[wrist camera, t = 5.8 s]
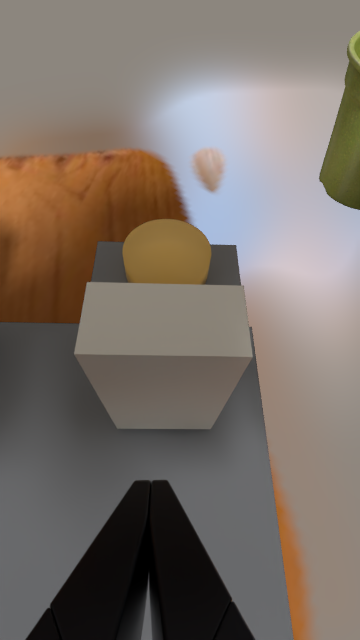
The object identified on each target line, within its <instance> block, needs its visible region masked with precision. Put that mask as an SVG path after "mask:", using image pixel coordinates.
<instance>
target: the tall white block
mask: <svg viewBox="0 0 360 640" xmlns="http://www.w3.org/2000/svg"><path fill="white" fill-rule="evenodd" d="M74 355H75V357H76V358H77V360H78V362H79V364H80V365H81V367H82V369H83V371H84V372H85V374H86V376H87V377H88V379H89V381H90V383H91V384H92V386H93V388H94V389H95V391H96V393H97V395H98V396H99V398H100V400H101V402H102V403H103V405H104V407H105V408H106V410H107V412H108V414H109V415H110V417H111V419H112V421H113V422H114V424H115V426H116V427H117V429H211V428H212V426H213V425H214V423H215V421H216V419H217V418H218V416H219V414H220V412H221V411H222V409H223V407H224V406H225V404H226V402H227V400H228V399H229V397H230V395H231V394H232V392H233V390H234V388H235V387H236V385H237V383H238V381H239V380H240V378H241V376H242V375H243V373H244V371H245V369H246V368H247V366H248V364H249V363H250V361H251V359H252V357H253V355H252V347H251V339H250V331H249V324H248V316H247V308H246V300H245V294H244V286H237V285H195V284H152V283H110V282H87V285H86V291H85V296H84V302H83V307H82V313H81V318H80V324H79V329H78V335H77V340H76V346H75V351H74Z"/></svg>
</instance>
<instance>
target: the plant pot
mask: <svg viewBox="0 0 360 640" xmlns="http://www.w3.org/2000/svg"><path fill="white" fill-rule="evenodd" d="M347 56H348V58H349V65H348V68H347V72H346V75H345V90H344V94H343V97H342V101H341V104H340V108H339V111H338V115H337V118H336V122H335V125H334V129H333V132H332V135H331V138H330V142H329V145H328V149H327V152H326V155H325V158H324V162H323V166H322V169H321V172H320V177H319V179H320V181H321V182H322V183H323V185H324V187H325V189H326V192H327V194H328V195H329V196H330V197H331V198H333V199H334V200H335V201H337V202H339V203H341V204H343V205H345V206H348V207H350V208H354V209H358V210H360V31H359V32H358V33H356V34H355V35H354V36H353V37H352V38H351V39H350V41H349V44H348V48H347Z"/></svg>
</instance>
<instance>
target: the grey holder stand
mask: <svg viewBox="0 0 360 640" xmlns="http://www.w3.org/2000/svg"><path fill="white" fill-rule="evenodd" d="M91 282H110V283H152V284H195V285H237V286H241V282H240V274H239V266H238V258H237V250H236V245H210V244H209V241H208V239H207V238H206V236H205V235H204V234H203V233H202V232H201V231H200V230H199V229H198V228H196V227H194V226H193V225H191V224H189V223H186V222H183V221H180V220H174V219H158V220H153V221H149V222H146V223H144V224H142V225H140V226H138V227H137V228H135V229H134V230H133V231H132V232H131V233H130V234H129V235H128V236H127V238H126V240H125V242H103V241H98V244H97V250H96V256H95V262H94V267H93V273H92V279H91ZM78 329H79V324H74V323H20V322H0V640H25V639H26V638H27V636H28V635H29V634H30V632H31V631H32V629H33V628H34V626H35V625H36V623H37V622H38V621H39V619H40V618H41V616H42V615H43V613H44V612H45V610H46V609H47V608H50V603H51V602H52V600H53V599H54V597H55V596H56V594H57V593H58V592H59V590H60V589H61V587H62V586H63V584H64V583H65V581H66V580H67V578H68V577H69V575H70V574H71V573H72V571H73V570H74V568H75V567H76V565H77V564H78V562H79V561H80V559H81V558H82V556H83V555H84V554H85V552H86V551H87V549H88V548H89V546H90V545H91V543H92V542H93V540H94V539H95V537H96V536H97V535H98V533H99V532H100V530H101V529H102V527H103V526H104V524H105V523H106V521H107V520H108V518H109V517H110V516H111V514H112V513H113V511H114V510H115V508H116V507H117V505H118V504H119V502H120V501H121V499H122V498H123V497H124V495H125V494H126V492H127V491H128V489H129V488H130V486H131V485H132V483H133V482H134V481H135V480H150V481H151V482H152V481H153V480H168V481H169V483H170V485H171V487H172V488H173V490H174V492H175V494H176V496H177V498H178V499H179V501H180V503H181V505H182V507H183V509H184V510H185V512H186V514H187V516H188V518H189V520H190V521H191V523H192V525H193V527H194V529H195V531H196V532H197V534H198V536H199V538H200V540H201V542H202V543H203V545H204V547H205V549H206V551H207V553H208V554H209V556H210V558H211V560H212V562H213V564H214V565H215V567H216V569H217V571H218V573H219V575H220V576H221V578H222V580H223V582H224V584H225V586H226V588H227V589H228V591H229V593H230V595H231V597H232V601H234V602H235V604H236V605H237V607H238V609H239V611H240V613H241V615H242V616H243V618H244V620H245V622H246V624H247V625H248V627H249V629H250V630H251V632H252V634H253V636H254V637H255V639H256V640H294V639H293V632H292V625H291V617H290V610H289V602H288V595H287V587H286V580H285V572H284V565H283V557H282V550H281V542H280V535H279V527H278V520H277V513H276V505H275V498H274V490H273V483H272V475H271V468H270V460H269V453H268V445H267V438H266V430H265V423H264V415H263V408H262V401H261V393H260V386H259V378H258V372H257V364H256V356H255V348H254V341H253V334H252V327H249V331H250V339H251V347H252V355H253V357H252V359H251V361H250V363H249V364H248V366H247V368H246V369H245V371H244V373H243V375H242V376H241V378H240V380H239V381H238V383H237V385H236V387H235V388H234V390H233V392H232V394H231V395H230V397H229V399H228V400H227V402H226V404H225V406H224V407H223V409H222V411H221V412H220V414H219V416H218V418H217V419H216V421H215V423H214V425H213V426H212V428H211V429H117V427H116V426H115V424H114V422H113V421H112V419H111V417H110V415H109V414H108V412H107V410H106V408H105V407H104V405H103V403H102V402H101V400H100V398H99V396H98V395H97V393H96V391H95V389H94V388H93V386H92V384H91V383H90V381H89V379H88V377H87V376H86V374H85V372H84V371H83V369H82V367H81V365H80V364H79V362H78V360H77V358H76V357H75V355H74V351H75V346H76V340H77V335H78ZM141 640H152V628H151V613H150V598H149V580H148V592H147V600H146V607H145V614H144V621H143V629H142V636H141Z"/></svg>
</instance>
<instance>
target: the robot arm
mask: <svg viewBox="0 0 360 640" xmlns="http://www.w3.org/2000/svg"><path fill="white" fill-rule="evenodd" d="M148 580H149V598H150V613H151V628H152V640H256V639H255V637H254V636H253V634H252V632H251V630H250V629H249V627H248V625H247V624H246V622H245V620H244V618H243V616H242V615H241V613H240V611H239V609H238V607H237V605H236V604H235V602H234V601H232V597H231V595H230V593H229V591H228V589H227V588H226V586H225V584H224V582H223V580H222V578H221V576H220V575H219V573H218V571H217V569H216V567H215V565H214V564H213V562H212V560H211V558H210V556H209V554H208V553H207V551H206V549H205V547H204V545H203V543H202V542H201V540H200V538H199V536H198V534H197V532H196V531H195V529H194V527H193V525H192V523H191V521H190V520H189V518H188V516H187V514H186V512H185V510H184V509H183V507H182V505H181V503H180V501H179V499H178V498H177V496H176V494H175V492H174V490H173V488H172V487H171V485H170V483H169V481H168V480H153V481H152V482H151V481H150V480H135V481H134V482H133V483H132V485H131V486H130V488H129V489H128V491H127V492H126V494H125V495H124V497H123V498H122V499H121V501H120V502H119V504H118V505H117V507H116V508H115V510H114V511H113V513H112V514H111V516H110V517H109V518H108V520H107V521H106V523H105V524H104V526H103V527H102V529H101V530H100V532H99V533H98V535H97V536H96V537H95V539H94V540H93V542H92V543H91V545H90V546H89V548H88V549H87V551H86V552H85V554H84V555H83V556H82V558H81V559H80V561H79V562H78V564H77V565H76V567H75V568H74V570H73V571H72V573H71V574H70V575H69V577H68V578H67V580H66V581H65V583H64V584H63V586H62V587H61V589H60V590H59V592H58V593H57V594H56V596H55V597H54V599H53V600H52V602H51V603H50V608H47V609H46V610H45V612H44V613H43V615H42V616H41V618H40V619H39V621H38V622H37V623H36V625H35V626H34V628H33V629H32V631H31V632H30V634H29V635H28V636H27V638H26V639H25V640H141V636H142V629H143V621H144V614H145V607H146V600H147V592H148Z"/></svg>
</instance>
